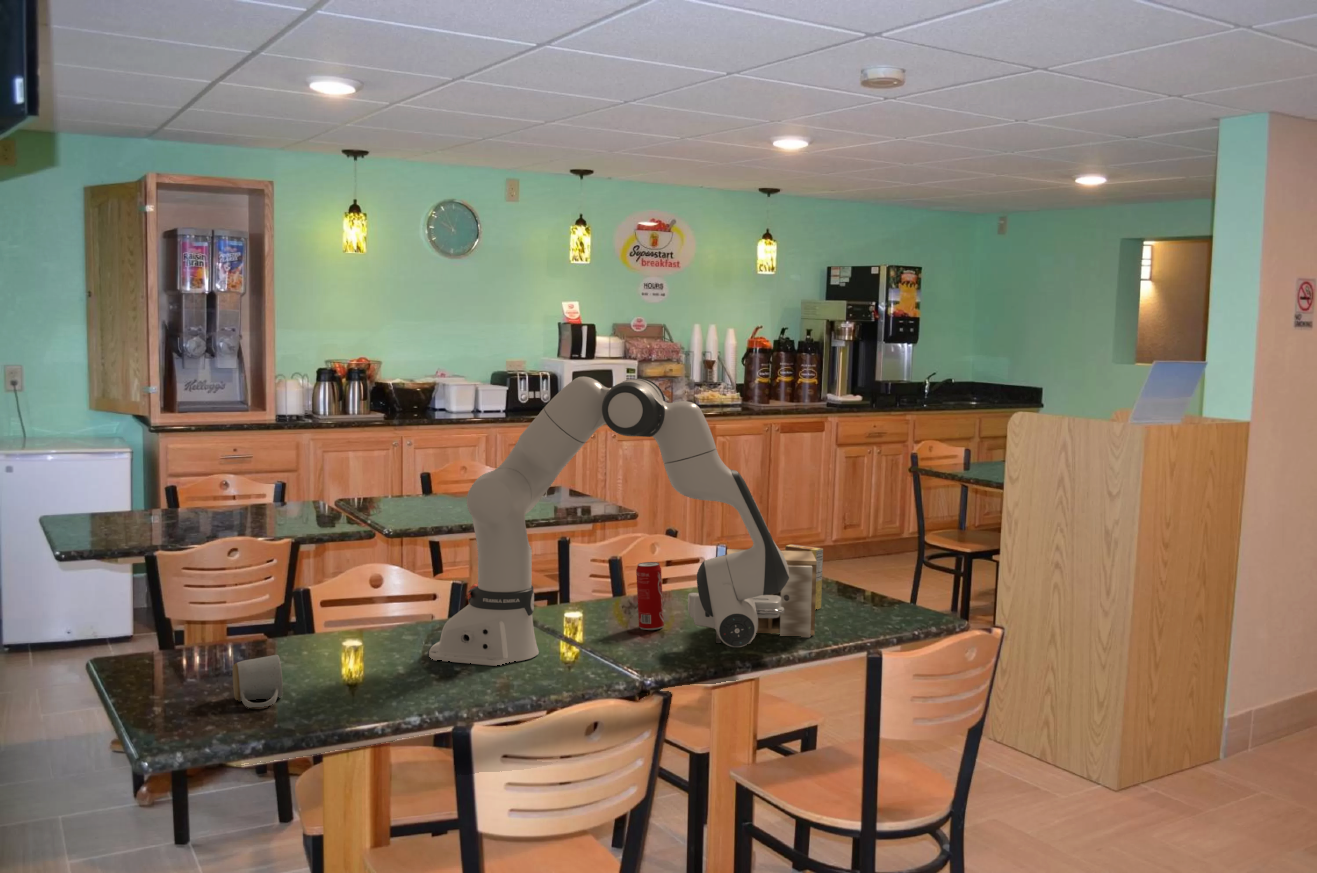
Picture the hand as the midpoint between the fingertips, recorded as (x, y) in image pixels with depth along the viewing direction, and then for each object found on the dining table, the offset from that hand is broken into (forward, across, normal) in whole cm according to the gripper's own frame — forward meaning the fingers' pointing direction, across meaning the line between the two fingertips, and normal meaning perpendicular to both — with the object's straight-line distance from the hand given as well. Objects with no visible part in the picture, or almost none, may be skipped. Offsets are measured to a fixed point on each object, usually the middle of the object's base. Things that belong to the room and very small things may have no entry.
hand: (734, 596), depth 248 cm
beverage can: (+8, +19, +10) cm, 23 cm away
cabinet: (+6, -7, +9) cm, 14 cm away
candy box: (+33, -18, +10) cm, 38 cm away
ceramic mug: (-52, +86, +10) cm, 101 cm away
